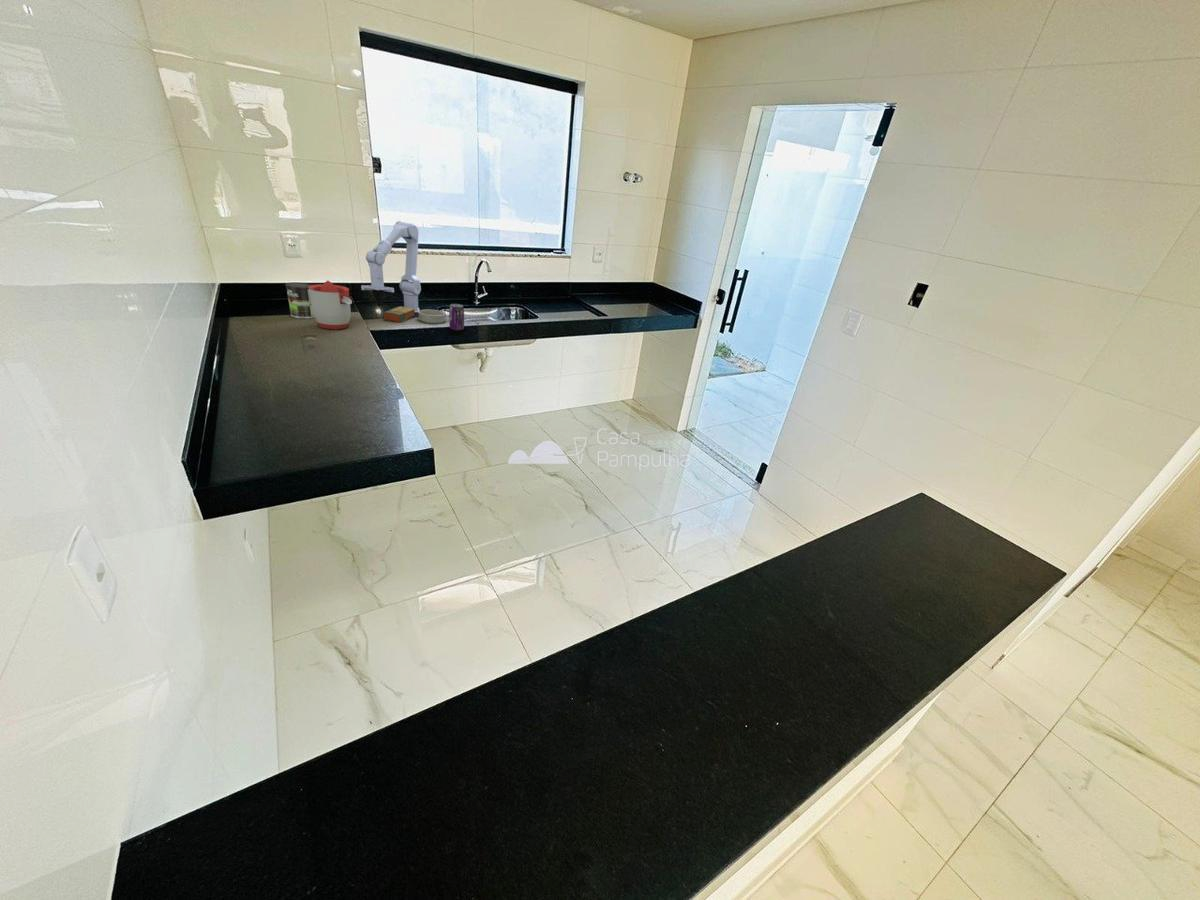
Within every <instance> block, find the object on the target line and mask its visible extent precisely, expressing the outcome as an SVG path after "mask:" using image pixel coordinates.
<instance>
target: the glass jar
mask: <svg viewBox="0 0 1200 900" xmlns="http://www.w3.org/2000/svg"><path fill="white" fill-rule="evenodd" d="M310 285H311V284H310V283H307V282H287V283H285V288H286V292H287V293H286V294H287V299H288V306H289V312H290V317H292V318H295V319H313V318H314V319H315V317H314V314H313V311H312V305H311V299H310V292H309V288H308V287H309V286H310Z"/></svg>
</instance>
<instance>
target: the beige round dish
mask: <svg viewBox="0 0 1200 900" xmlns="http://www.w3.org/2000/svg"><path fill="white" fill-rule="evenodd" d="M417 314H418V320H419V321H420V322H423V323H426V324H443V323H444V322H446V312H445V311H441V310H437V309H421V310H419V311H418V313H417Z"/></svg>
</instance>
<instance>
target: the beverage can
mask: <svg viewBox="0 0 1200 900" xmlns="http://www.w3.org/2000/svg"><path fill="white" fill-rule="evenodd" d="M448 310H449V312H448V315H449V316H448V317H449V318H448V319H449V320H448V322H449V323H448V324H449V329H451V330H452V331H456V332H460V331H463V330H464V329H465V308H464V305H463V304H460V303H451V304H450V305H449V309H448Z"/></svg>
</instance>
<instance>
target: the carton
mask: <svg viewBox="0 0 1200 900" xmlns="http://www.w3.org/2000/svg"><path fill="white" fill-rule="evenodd" d="M415 313H416V312H414V309H413V308H408V307H404V306H396V307H393V308H391V309H388V310H386V311H384V312H383V320H384V321H388V322H389V321H390V322H395V323H402V322H404V321H407V320H409V319H411V318H414V317H415Z"/></svg>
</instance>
